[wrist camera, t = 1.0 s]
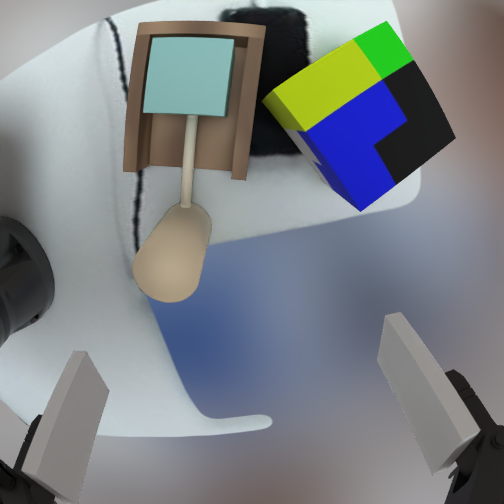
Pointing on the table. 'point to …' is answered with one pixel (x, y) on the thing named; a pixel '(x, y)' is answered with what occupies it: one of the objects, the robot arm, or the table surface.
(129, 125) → the shelf lane
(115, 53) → the table surface
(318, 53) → the table surface
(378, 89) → the puzzle toy
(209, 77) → the toy hammer
